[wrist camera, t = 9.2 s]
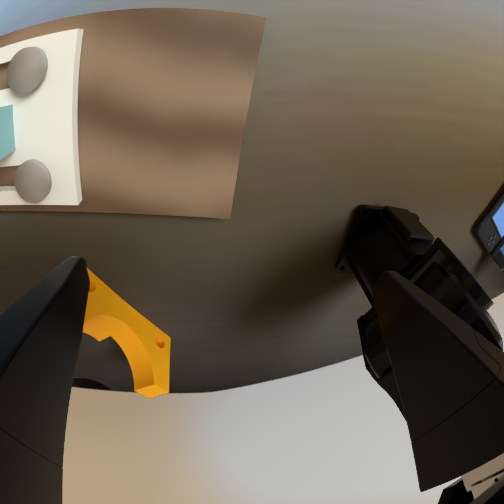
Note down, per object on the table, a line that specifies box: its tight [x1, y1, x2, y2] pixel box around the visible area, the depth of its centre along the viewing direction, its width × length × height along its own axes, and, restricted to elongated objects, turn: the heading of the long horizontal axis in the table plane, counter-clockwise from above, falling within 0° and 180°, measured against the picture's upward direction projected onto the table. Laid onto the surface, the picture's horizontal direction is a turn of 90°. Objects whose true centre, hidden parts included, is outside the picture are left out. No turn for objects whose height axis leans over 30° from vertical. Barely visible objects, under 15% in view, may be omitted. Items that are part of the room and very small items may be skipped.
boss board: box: [0, 8, 266, 219], centre depth 13 cm, size 13×22×3 cm, turn 80°
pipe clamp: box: [83, 268, 171, 398], centre depth 23 cm, size 12×4×6 cm, turn 29°
